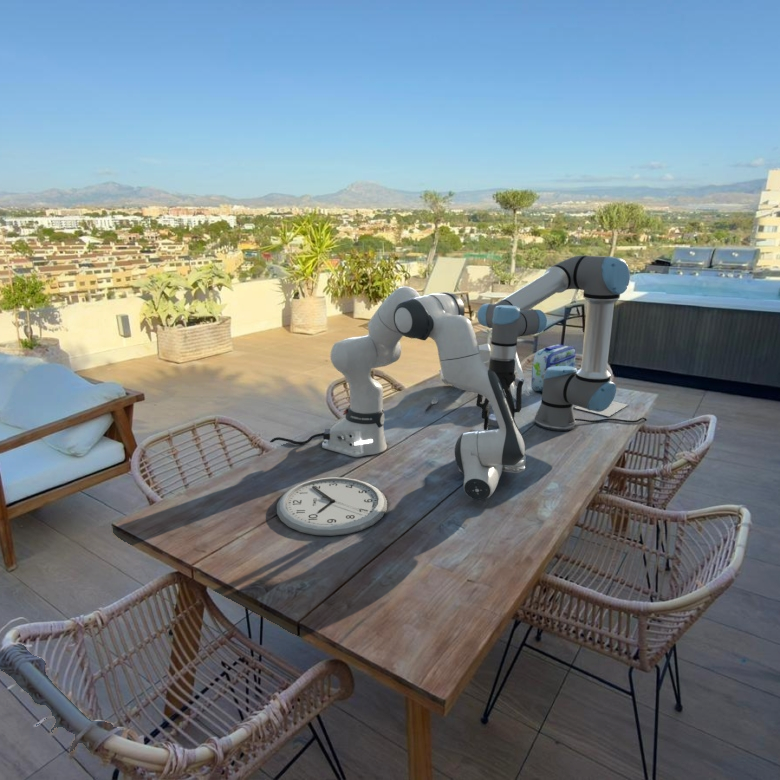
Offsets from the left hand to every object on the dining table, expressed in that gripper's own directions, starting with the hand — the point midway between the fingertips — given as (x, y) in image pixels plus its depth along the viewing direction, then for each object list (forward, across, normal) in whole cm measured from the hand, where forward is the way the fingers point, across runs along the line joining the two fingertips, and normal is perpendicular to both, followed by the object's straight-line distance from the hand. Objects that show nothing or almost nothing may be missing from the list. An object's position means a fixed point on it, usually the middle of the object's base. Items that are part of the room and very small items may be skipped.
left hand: (495, 448), depth 165 cm
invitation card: (+78, -34, +7) cm, 85 cm away
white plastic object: (+77, +20, +6) cm, 80 cm away
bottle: (-1, 0, +6) cm, 7 cm away
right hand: (-1, 0, -6) cm, 7 cm away
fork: (+49, +35, +6) cm, 61 cm away
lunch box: (+96, -12, +7) cm, 97 cm away
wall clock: (-41, +37, +6) cm, 56 cm away
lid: (-1, 0, -10) cm, 11 cm away
